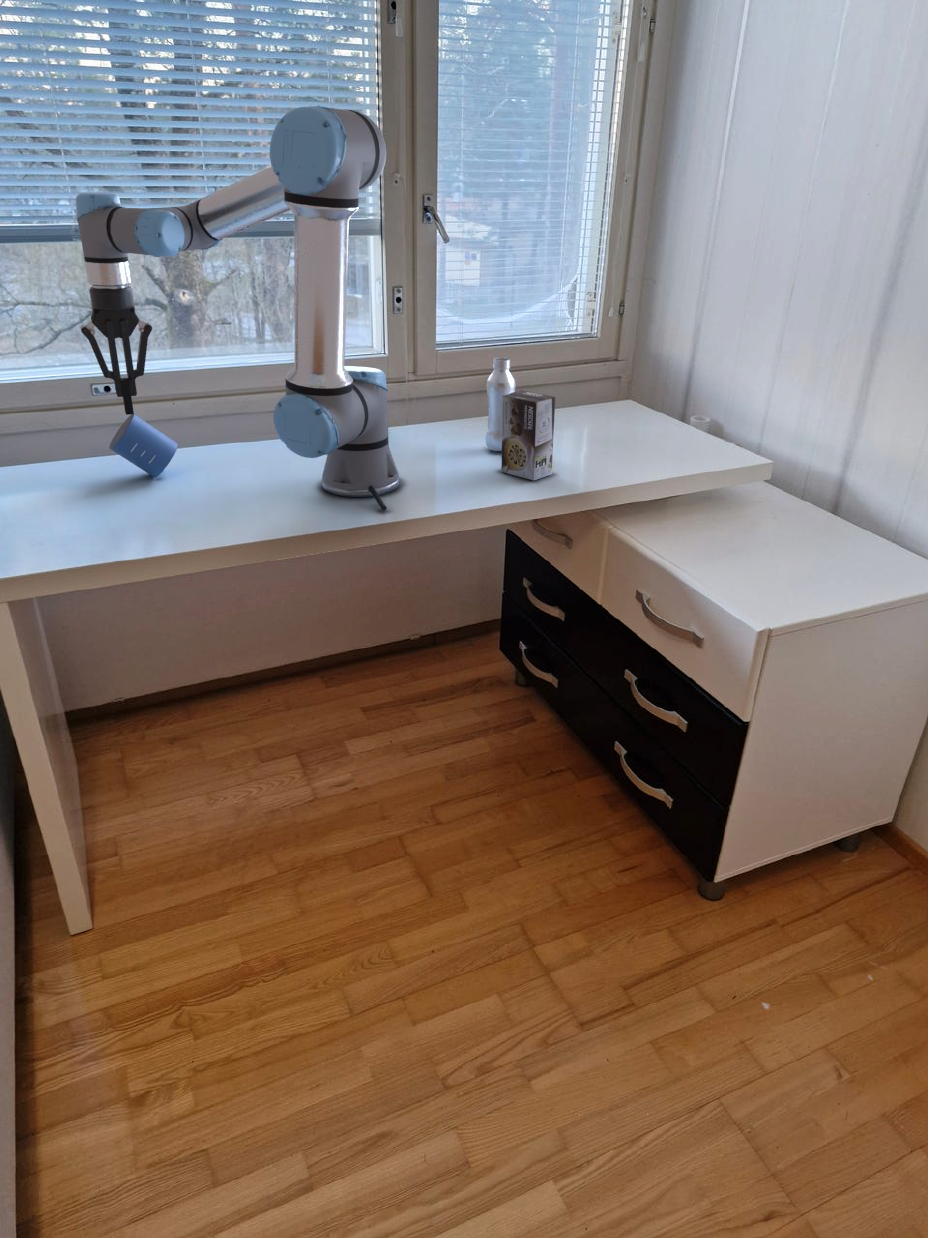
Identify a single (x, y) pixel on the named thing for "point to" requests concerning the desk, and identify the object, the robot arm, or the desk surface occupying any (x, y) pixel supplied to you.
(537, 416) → the coffee box
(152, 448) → the measuring cup
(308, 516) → the desk surface
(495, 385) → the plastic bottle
